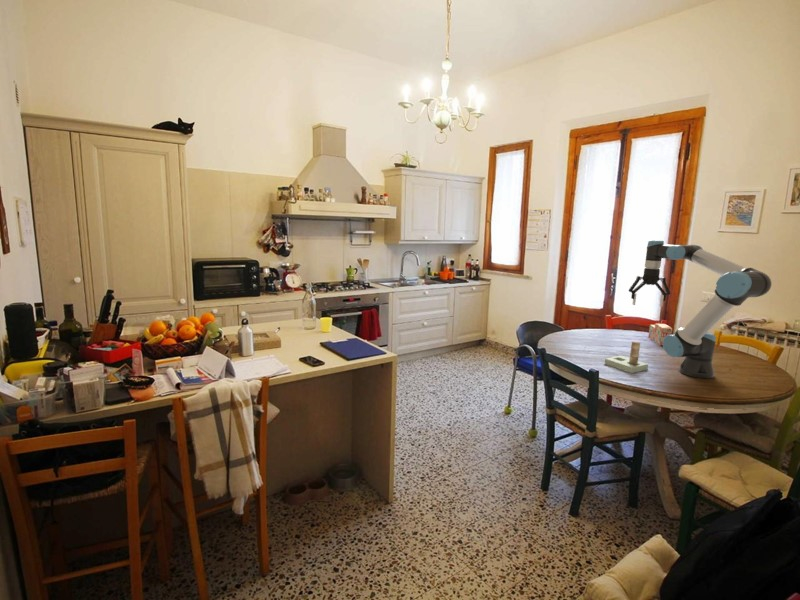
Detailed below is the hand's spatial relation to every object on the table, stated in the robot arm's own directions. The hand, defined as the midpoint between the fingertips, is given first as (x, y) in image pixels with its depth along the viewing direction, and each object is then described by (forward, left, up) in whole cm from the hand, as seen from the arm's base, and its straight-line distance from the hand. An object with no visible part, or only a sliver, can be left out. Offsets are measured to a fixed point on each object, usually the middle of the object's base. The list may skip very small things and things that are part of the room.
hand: (647, 305), depth 233 cm
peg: (-7, +17, -33) cm, 37 cm away
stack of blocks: (+21, -53, -33) cm, 66 cm away
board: (-3, +17, -33) cm, 37 cm away
